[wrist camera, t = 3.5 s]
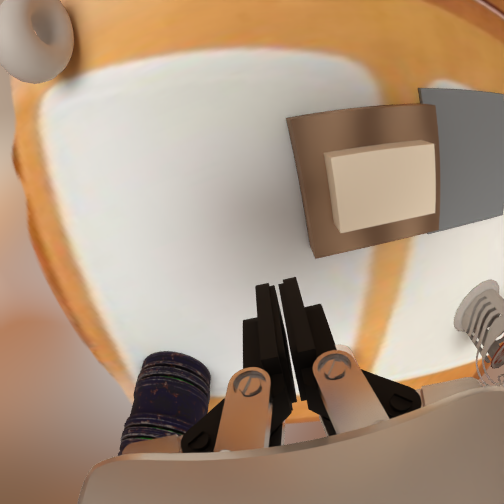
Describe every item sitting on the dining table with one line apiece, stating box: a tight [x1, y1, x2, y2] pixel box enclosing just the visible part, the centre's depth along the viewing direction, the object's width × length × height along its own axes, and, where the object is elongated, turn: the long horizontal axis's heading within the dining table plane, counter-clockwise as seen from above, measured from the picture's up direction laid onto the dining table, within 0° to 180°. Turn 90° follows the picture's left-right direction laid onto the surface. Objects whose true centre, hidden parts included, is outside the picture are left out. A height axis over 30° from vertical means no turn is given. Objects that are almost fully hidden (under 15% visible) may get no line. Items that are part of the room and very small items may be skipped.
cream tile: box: [324, 140, 436, 233], centre depth 21 cm, size 9×6×2 cm, turn 103°
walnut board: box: [286, 104, 440, 259], centre depth 23 cm, size 13×12×2 cm
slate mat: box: [418, 88, 504, 234], centre depth 23 cm, size 13×15×1 cm
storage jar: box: [118, 351, 211, 456], centre depth 30 cm, size 10×10×15 cm
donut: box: [0, 0, 74, 84], centre depth 12 cm, size 10×3×10 cm, turn 13°
